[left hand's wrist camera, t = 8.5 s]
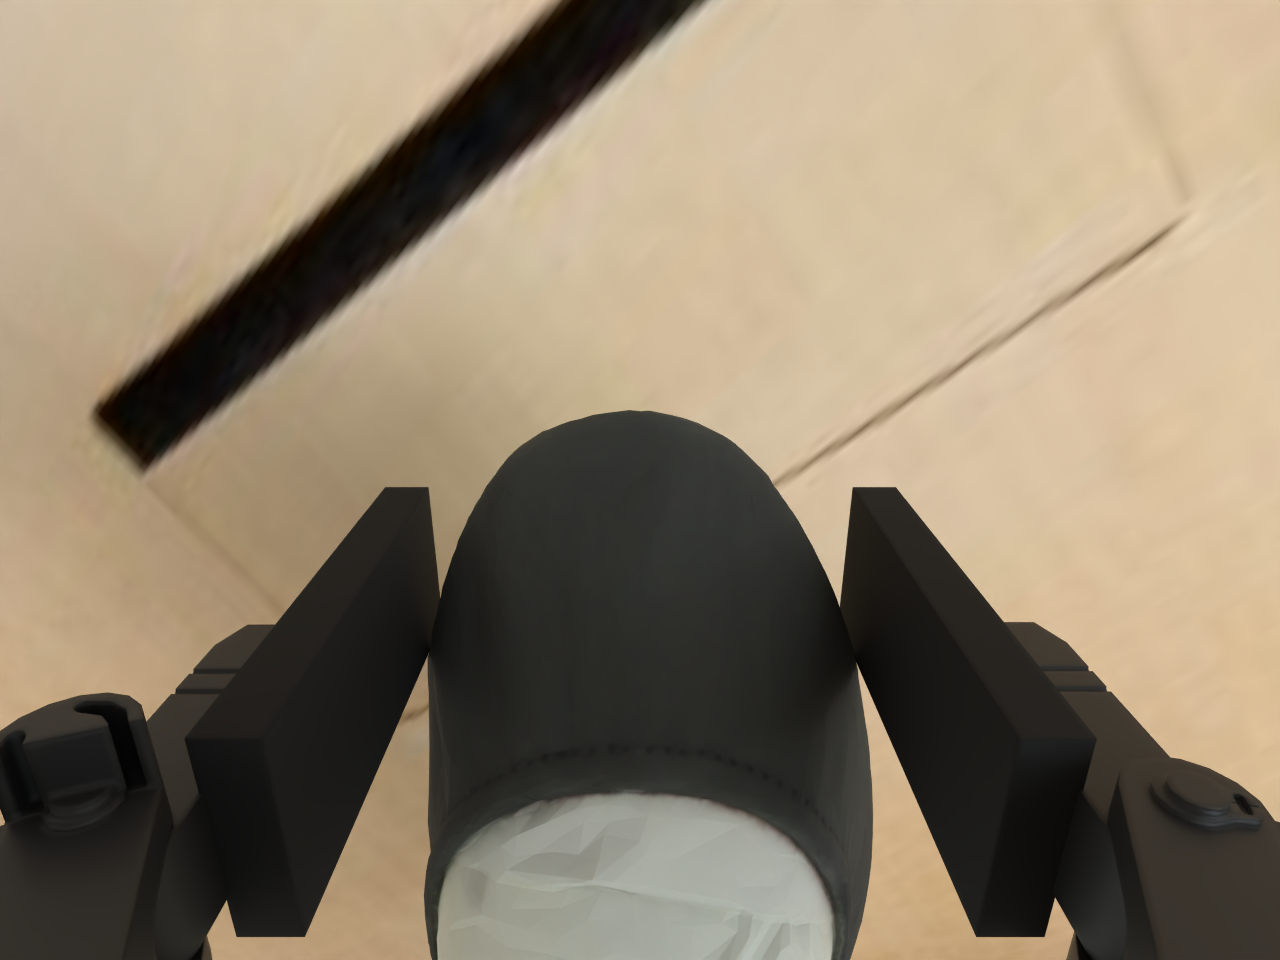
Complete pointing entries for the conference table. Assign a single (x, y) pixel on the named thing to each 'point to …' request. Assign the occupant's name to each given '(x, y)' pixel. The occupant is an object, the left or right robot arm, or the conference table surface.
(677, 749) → the ballet flat
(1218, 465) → the conference table surface
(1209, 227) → the conference table surface
